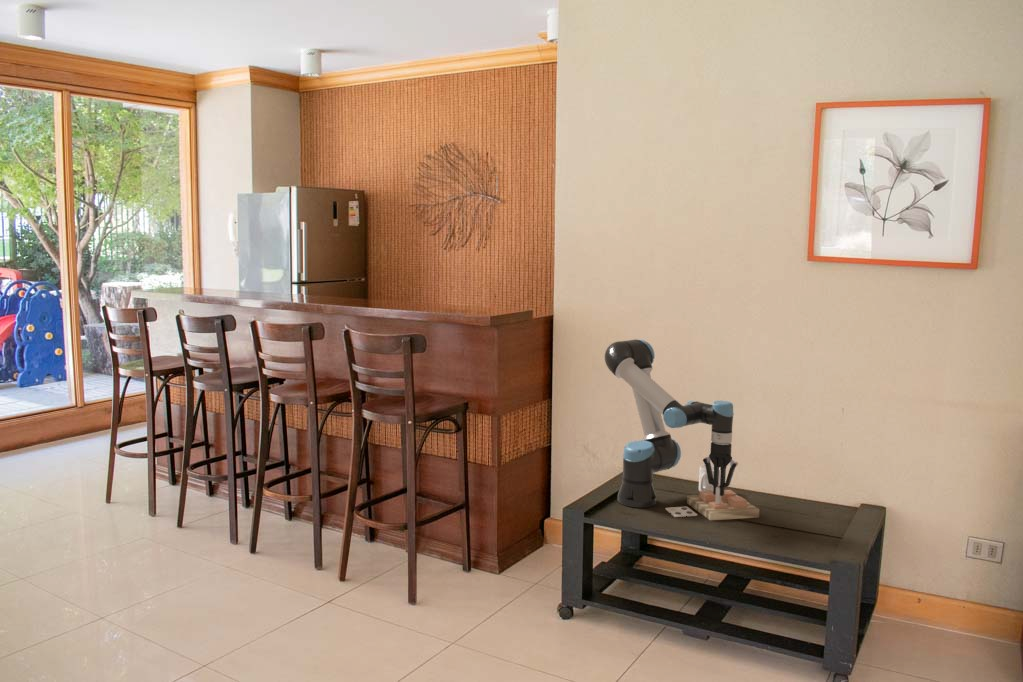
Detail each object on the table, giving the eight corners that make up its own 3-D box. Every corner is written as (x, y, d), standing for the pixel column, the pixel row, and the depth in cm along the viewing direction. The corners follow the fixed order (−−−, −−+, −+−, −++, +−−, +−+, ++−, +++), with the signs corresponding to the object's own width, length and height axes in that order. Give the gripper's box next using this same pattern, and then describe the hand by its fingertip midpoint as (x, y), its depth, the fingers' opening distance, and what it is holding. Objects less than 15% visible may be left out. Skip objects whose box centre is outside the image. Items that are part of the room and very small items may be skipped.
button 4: (727, 505, 316) (728, 496, 315) (739, 505, 317) (740, 496, 316) (734, 510, 311) (734, 500, 310) (746, 509, 312) (746, 500, 311)
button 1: (699, 500, 321) (699, 491, 321) (711, 499, 323) (711, 490, 322) (705, 504, 317) (705, 495, 316) (716, 503, 318) (717, 494, 317)
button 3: (718, 499, 323) (718, 490, 323) (729, 498, 324) (730, 489, 324) (724, 503, 318) (724, 494, 318) (735, 502, 320) (736, 493, 319)
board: (686, 503, 324) (687, 495, 324) (733, 500, 329) (733, 493, 328) (710, 520, 305) (710, 512, 305) (759, 517, 310) (759, 509, 309)
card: (665, 509, 316) (665, 507, 316) (686, 508, 318) (687, 506, 318) (675, 517, 308) (675, 515, 308) (697, 515, 310) (697, 513, 310)
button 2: (708, 511, 314) (708, 502, 313) (720, 510, 315) (720, 501, 315) (714, 515, 309) (714, 506, 309) (726, 514, 310) (727, 505, 310)
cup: (722, 491, 340) (723, 467, 339) (710, 498, 331) (711, 473, 330) (703, 487, 345) (705, 463, 344) (691, 494, 336) (692, 469, 335)
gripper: (701, 441, 309) (698, 502, 312) (735, 447, 302) (732, 509, 305) (707, 437, 315) (704, 497, 318) (741, 443, 308) (738, 503, 311)
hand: (718, 503), depth 312 cm, fingers closed
